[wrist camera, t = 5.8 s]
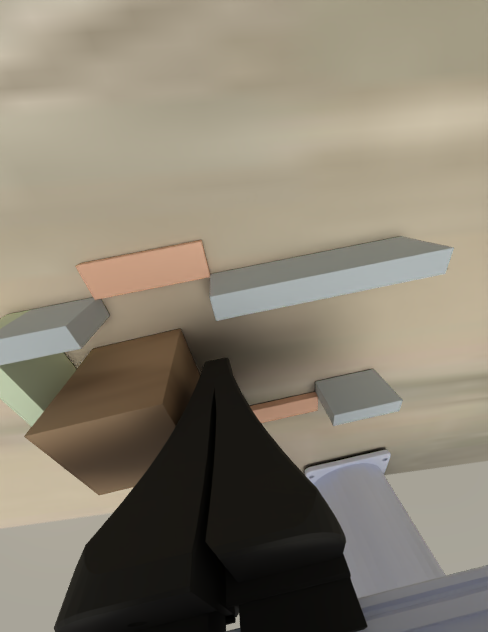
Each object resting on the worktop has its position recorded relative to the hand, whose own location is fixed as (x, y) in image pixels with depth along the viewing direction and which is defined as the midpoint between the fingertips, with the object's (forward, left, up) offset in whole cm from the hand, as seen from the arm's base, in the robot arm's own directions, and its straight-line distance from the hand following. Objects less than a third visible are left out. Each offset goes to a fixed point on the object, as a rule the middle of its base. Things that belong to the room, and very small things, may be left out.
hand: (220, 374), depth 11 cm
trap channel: (0, -1, -1) cm, 2 cm away
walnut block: (0, +4, -1) cm, 4 cm away
